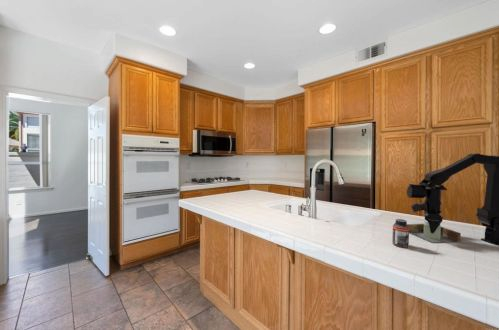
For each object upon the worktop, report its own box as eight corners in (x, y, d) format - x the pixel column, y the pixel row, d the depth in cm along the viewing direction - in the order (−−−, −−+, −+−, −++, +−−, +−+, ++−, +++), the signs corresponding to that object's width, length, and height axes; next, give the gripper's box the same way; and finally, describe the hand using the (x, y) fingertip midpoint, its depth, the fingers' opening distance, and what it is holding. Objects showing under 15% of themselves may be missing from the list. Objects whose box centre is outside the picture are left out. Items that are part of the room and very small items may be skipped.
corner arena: (430, 230, 116) (430, 223, 115) (460, 241, 101) (460, 233, 101) (405, 231, 114) (405, 224, 114) (432, 243, 99) (432, 234, 99)
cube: (423, 233, 111) (424, 221, 110) (439, 235, 107) (439, 223, 107) (423, 236, 106) (424, 224, 106) (440, 239, 102) (440, 226, 102)
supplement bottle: (393, 241, 101) (393, 217, 100) (409, 245, 97) (410, 219, 97) (391, 245, 96) (392, 220, 96) (407, 249, 93) (409, 223, 92)
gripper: (412, 194, 118) (411, 222, 119) (411, 199, 103) (410, 232, 104) (440, 196, 111) (438, 226, 112) (443, 203, 96) (441, 237, 97)
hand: (431, 230), depth 106 cm, fingers open, 9 cm apart
